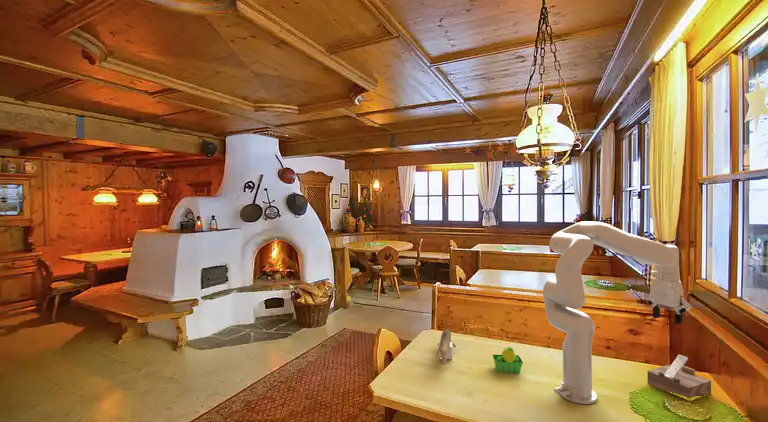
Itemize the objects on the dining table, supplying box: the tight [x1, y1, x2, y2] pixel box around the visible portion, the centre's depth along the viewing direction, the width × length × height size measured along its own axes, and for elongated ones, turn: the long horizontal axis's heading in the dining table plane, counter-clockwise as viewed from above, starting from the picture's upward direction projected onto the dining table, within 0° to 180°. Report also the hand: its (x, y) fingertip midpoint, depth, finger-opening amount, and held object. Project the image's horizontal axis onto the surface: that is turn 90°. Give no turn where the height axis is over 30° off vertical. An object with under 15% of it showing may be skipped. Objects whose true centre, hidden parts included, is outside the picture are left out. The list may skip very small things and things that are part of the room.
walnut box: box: [647, 364, 712, 398], centre depth 135 cm, size 13×14×7 cm
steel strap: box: [664, 354, 689, 380], centre depth 135 cm, size 11×3×1 cm
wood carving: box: [437, 328, 457, 364], centre depth 166 cm, size 9×35×11 cm, turn 168°
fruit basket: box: [492, 346, 524, 374], centre depth 153 cm, size 11×9×11 cm
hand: (667, 320), depth 142 cm, fingers open, 7 cm apart
